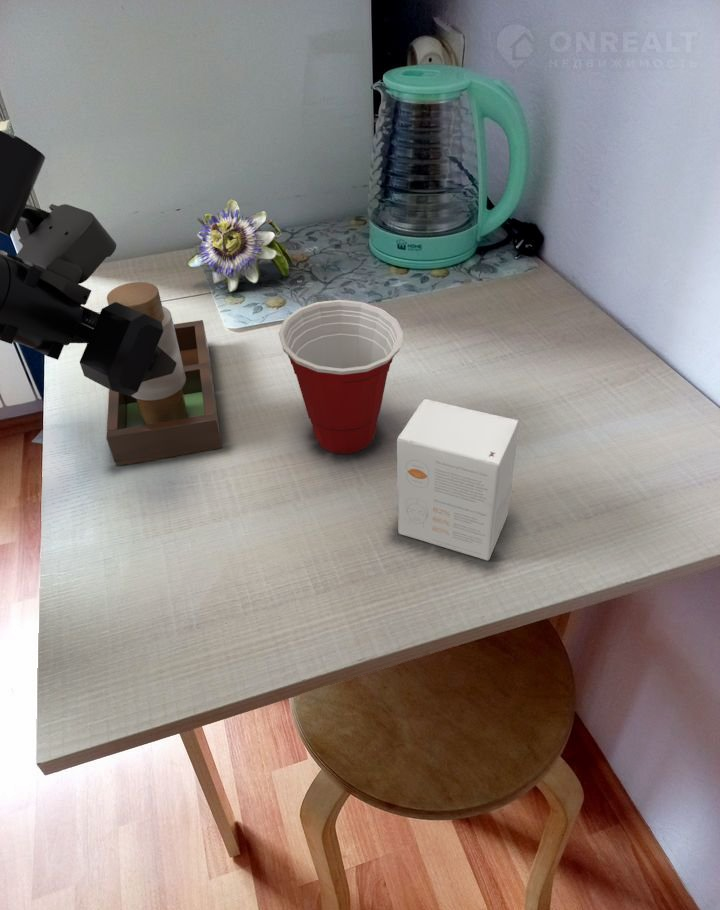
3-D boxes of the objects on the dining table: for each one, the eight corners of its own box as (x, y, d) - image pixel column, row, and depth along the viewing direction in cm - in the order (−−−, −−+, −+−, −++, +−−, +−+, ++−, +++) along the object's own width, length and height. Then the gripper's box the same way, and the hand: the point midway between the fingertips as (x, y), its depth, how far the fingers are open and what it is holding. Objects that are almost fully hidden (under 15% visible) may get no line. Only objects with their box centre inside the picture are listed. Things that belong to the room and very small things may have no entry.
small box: (508, 517, 60) (523, 419, 53) (488, 564, 56) (502, 465, 49) (420, 491, 63) (423, 395, 56) (395, 534, 59) (395, 437, 52)
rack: (222, 448, 68) (216, 419, 66) (116, 466, 67) (106, 437, 64) (208, 346, 82) (202, 319, 80) (120, 359, 81) (112, 332, 78)
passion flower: (240, 325, 96) (173, 269, 88) (243, 275, 103) (180, 218, 95) (304, 283, 91) (239, 219, 83) (302, 233, 98) (242, 170, 90)
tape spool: (164, 445, 68) (128, 316, 58) (126, 425, 70) (85, 298, 61) (206, 415, 71) (178, 288, 62) (168, 397, 73) (136, 273, 64)
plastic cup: (348, 490, 63) (342, 380, 55) (268, 440, 69) (252, 333, 61) (425, 432, 69) (429, 324, 61) (345, 390, 75) (339, 286, 67)
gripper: (109, 212, 46) (249, 298, 60) (-43, 162, 55) (109, 246, 69) (43, 369, 46) (197, 418, 60) (-98, 294, 55) (64, 352, 69)
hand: (139, 352), depth 64 cm, fingers open, 9 cm apart
